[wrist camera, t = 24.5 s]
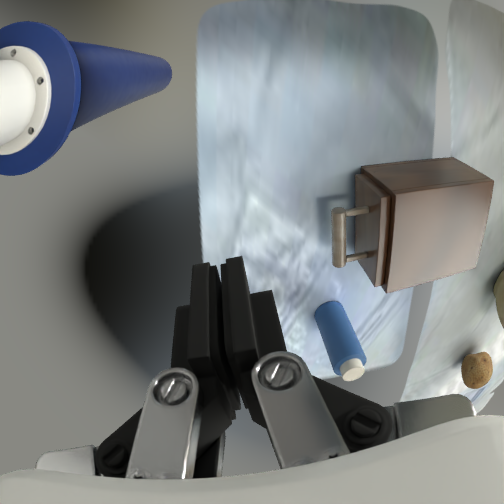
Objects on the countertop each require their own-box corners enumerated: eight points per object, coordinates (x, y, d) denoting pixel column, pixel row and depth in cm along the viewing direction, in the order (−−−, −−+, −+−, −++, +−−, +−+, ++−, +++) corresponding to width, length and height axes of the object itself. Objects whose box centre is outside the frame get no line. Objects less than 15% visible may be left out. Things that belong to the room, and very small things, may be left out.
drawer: (323, 262, 41) (340, 295, 35) (319, 179, 35) (340, 204, 29) (435, 238, 41) (461, 264, 35) (444, 164, 35) (476, 183, 29)
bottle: (314, 325, 49) (335, 387, 38) (314, 304, 46) (337, 368, 36) (342, 319, 49) (368, 379, 39) (343, 298, 46) (372, 359, 36)
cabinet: (359, 254, 42) (386, 293, 35) (360, 166, 35) (395, 193, 28) (443, 236, 42) (475, 268, 35) (453, 156, 35) (494, 180, 28)
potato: (476, 338, 60) (496, 367, 51) (485, 347, 63) (502, 374, 55) (449, 362, 63) (467, 393, 55) (460, 369, 67) (476, 397, 58)
